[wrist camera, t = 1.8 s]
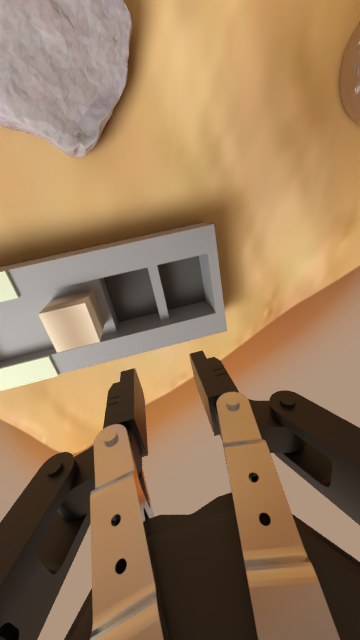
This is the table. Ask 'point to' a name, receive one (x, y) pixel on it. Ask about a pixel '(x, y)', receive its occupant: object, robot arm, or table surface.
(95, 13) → the stone block
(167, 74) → the table surface
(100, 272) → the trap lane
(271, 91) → the table surface
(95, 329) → the cube
